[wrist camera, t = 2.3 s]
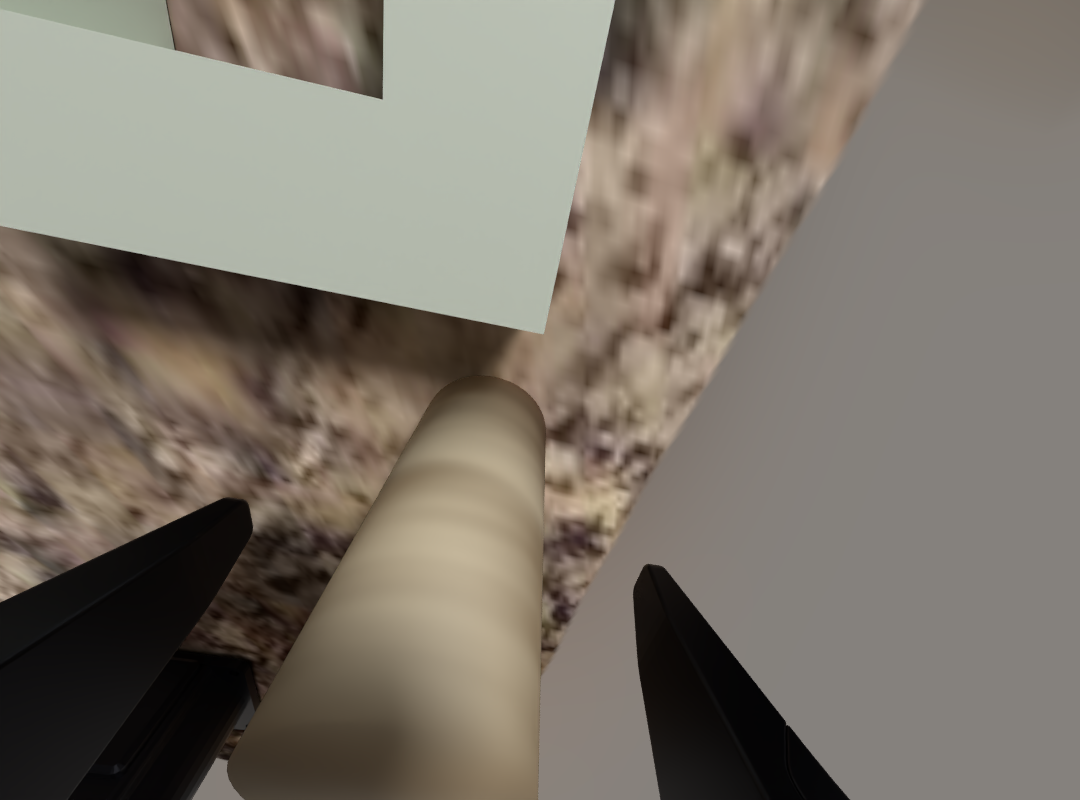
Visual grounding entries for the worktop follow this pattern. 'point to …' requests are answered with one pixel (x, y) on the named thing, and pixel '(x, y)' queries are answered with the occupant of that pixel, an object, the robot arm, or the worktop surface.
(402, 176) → the socket block
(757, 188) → the worktop surface
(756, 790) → the robot arm
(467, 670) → the peg
